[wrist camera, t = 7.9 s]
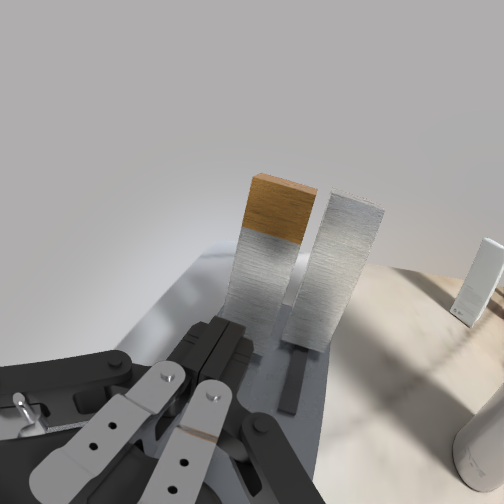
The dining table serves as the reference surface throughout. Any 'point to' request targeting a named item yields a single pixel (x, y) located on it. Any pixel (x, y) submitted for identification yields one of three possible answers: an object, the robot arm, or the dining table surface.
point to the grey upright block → (332, 269)
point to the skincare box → (479, 282)
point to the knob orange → (266, 254)
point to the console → (276, 404)
